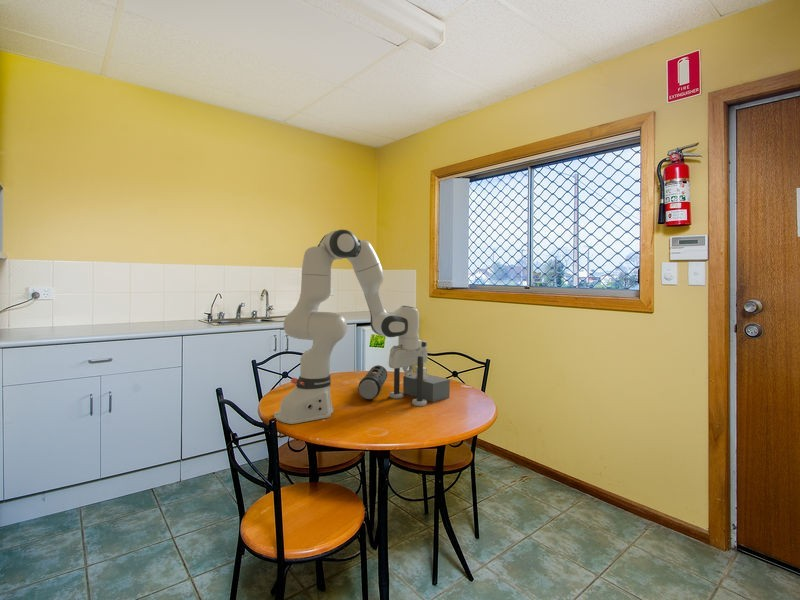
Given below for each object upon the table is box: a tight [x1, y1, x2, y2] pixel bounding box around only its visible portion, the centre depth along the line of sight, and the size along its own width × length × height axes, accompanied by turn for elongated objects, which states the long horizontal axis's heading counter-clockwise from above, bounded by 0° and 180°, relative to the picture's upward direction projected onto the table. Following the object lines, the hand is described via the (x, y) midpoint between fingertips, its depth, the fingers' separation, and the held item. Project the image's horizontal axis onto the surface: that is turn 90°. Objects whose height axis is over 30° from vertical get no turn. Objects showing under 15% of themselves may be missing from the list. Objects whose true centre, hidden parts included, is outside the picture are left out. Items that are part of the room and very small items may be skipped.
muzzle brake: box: [357, 364, 388, 400], centre depth 188 cm, size 10×28×10 cm, turn 174°
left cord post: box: [389, 368, 404, 400], centre depth 183 cm, size 6×6×20 cm
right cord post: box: [411, 356, 428, 407], centre depth 173 cm, size 6×6×20 cm
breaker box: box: [402, 373, 451, 403], centre depth 186 cm, size 11×18×8 cm, turn 44°
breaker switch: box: [414, 366, 428, 380], centre depth 183 cm, size 2×5×5 cm, turn 44°
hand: (408, 375), depth 178 cm, fingers closed
